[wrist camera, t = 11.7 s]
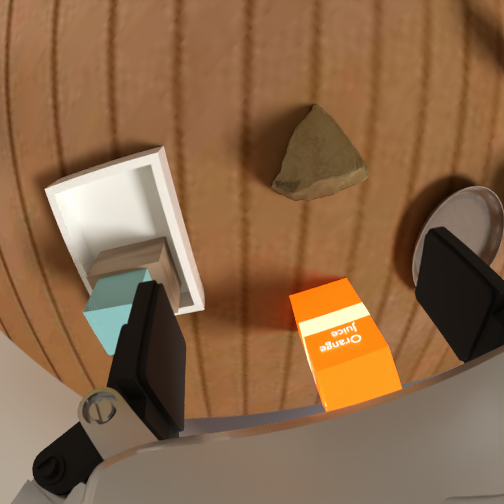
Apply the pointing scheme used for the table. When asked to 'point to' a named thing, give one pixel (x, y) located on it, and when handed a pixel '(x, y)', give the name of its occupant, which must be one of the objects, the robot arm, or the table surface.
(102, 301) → the teal box
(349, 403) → the orange juice
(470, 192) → the plant saucer
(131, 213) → the white tray
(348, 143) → the rock
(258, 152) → the table surface
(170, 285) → the walnut block
